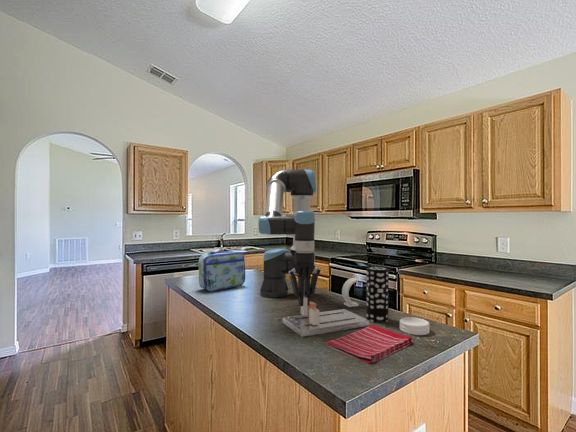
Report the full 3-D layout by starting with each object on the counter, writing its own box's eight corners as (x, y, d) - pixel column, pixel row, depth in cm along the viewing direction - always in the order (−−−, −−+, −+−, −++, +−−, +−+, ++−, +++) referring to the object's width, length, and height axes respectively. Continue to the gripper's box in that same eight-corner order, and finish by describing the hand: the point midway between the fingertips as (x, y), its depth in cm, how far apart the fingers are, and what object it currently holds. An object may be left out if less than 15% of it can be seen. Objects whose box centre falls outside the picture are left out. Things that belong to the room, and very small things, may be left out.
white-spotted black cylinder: (373, 314, 131) (373, 266, 131) (392, 319, 125) (392, 268, 125) (362, 319, 125) (362, 268, 125) (381, 324, 119) (381, 270, 119)
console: (282, 322, 120) (282, 316, 120) (344, 313, 132) (344, 308, 132) (301, 336, 106) (301, 330, 106) (369, 325, 117) (369, 320, 117)
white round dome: (393, 329, 114) (393, 319, 114) (409, 324, 120) (409, 315, 120) (419, 338, 106) (419, 327, 106) (435, 332, 112) (435, 322, 112)
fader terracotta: (306, 315, 122) (306, 302, 122) (312, 314, 123) (312, 301, 123) (310, 317, 119) (310, 304, 119) (316, 316, 120) (316, 303, 120)
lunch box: (204, 293, 166) (204, 253, 166) (196, 289, 174) (196, 251, 174) (247, 287, 182) (247, 250, 182) (237, 283, 190) (237, 249, 191)
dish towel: (414, 345, 101) (414, 336, 101) (370, 367, 86) (370, 357, 86) (369, 330, 114) (369, 322, 114) (324, 347, 99) (324, 338, 99)
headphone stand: (358, 306, 144) (358, 279, 144) (346, 307, 142) (347, 280, 142) (353, 303, 148) (353, 277, 148) (341, 304, 146) (341, 278, 146)
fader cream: (309, 322, 113) (309, 308, 113) (315, 321, 114) (315, 307, 114) (313, 325, 110) (313, 310, 110) (319, 324, 111) (319, 309, 111)
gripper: (293, 253, 114) (292, 319, 114) (324, 252, 119) (323, 315, 119) (284, 251, 121) (284, 313, 120) (314, 250, 126) (314, 309, 126)
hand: (303, 314), depth 120 cm, fingers closed
